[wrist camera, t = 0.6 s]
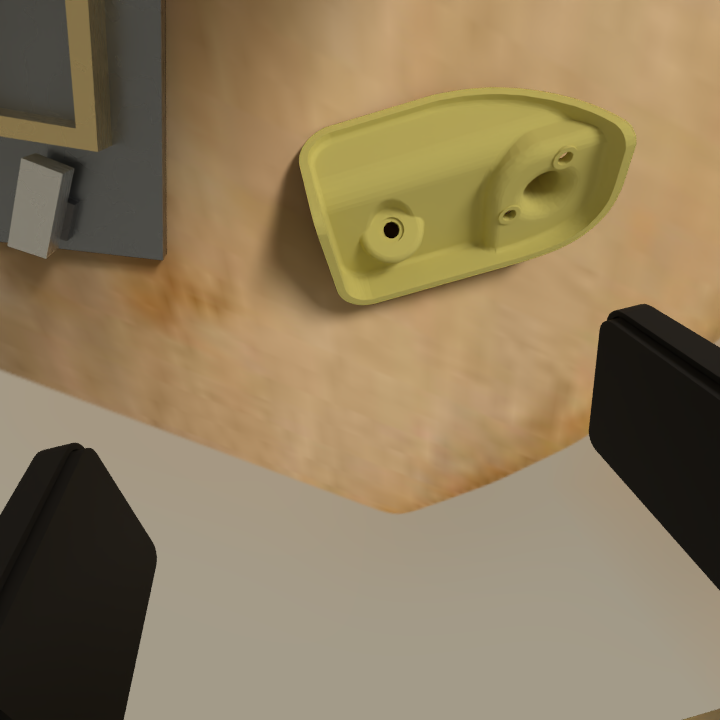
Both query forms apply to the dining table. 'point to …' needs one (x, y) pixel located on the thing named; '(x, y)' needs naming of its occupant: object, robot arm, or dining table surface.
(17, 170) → the stand
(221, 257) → the dining table surface
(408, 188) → the plastic component
